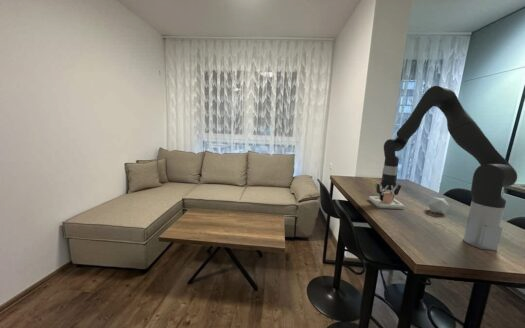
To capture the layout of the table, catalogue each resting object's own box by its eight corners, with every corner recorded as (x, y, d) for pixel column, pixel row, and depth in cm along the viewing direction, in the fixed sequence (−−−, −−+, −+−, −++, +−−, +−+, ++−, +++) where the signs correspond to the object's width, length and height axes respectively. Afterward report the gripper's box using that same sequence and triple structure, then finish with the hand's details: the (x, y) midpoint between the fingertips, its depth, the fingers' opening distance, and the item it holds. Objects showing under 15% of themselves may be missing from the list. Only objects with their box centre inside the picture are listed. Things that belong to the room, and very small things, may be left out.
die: (444, 212, 124) (434, 195, 128) (456, 210, 116) (445, 192, 119) (431, 217, 124) (420, 201, 127) (442, 215, 115) (431, 198, 119)
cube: (392, 203, 129) (393, 195, 128) (383, 202, 129) (384, 194, 129) (388, 200, 134) (389, 192, 133) (379, 199, 134) (380, 191, 133)
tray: (403, 209, 125) (404, 205, 124) (378, 207, 126) (378, 203, 125) (391, 201, 138) (392, 197, 138) (369, 199, 140) (369, 196, 139)
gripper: (379, 174, 125) (376, 202, 129) (406, 175, 124) (401, 203, 127) (374, 171, 133) (371, 198, 136) (399, 172, 132) (395, 199, 135)
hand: (386, 200), depth 132 cm, fingers closed on cube, 4 cm apart
